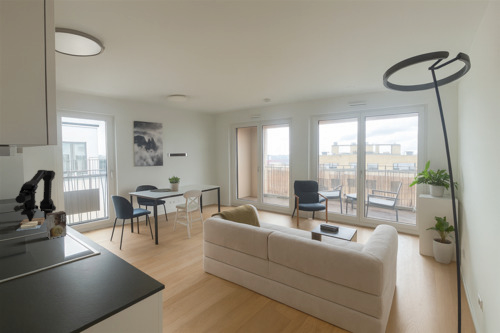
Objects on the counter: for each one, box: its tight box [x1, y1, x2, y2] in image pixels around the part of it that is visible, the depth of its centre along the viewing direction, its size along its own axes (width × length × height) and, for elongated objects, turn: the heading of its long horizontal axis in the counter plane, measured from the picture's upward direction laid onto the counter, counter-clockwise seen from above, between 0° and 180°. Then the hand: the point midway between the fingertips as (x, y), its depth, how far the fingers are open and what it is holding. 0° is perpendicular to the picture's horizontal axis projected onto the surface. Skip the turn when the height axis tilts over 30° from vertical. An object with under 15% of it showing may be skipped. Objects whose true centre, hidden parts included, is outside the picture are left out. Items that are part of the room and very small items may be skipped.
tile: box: [21, 221, 38, 229], centre depth 171 cm, size 6×8×2 cm
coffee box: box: [45, 210, 68, 240], centre depth 156 cm, size 9×6×16 cm
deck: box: [18, 216, 46, 228], centre depth 180 cm, size 13×12×3 cm
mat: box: [16, 225, 42, 232], centre depth 171 cm, size 8×12×1 cm, turn 122°
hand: (30, 221), depth 174 cm, fingers closed
